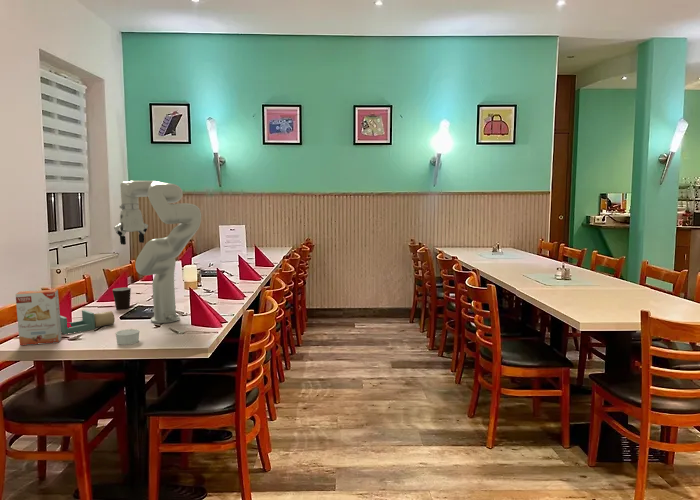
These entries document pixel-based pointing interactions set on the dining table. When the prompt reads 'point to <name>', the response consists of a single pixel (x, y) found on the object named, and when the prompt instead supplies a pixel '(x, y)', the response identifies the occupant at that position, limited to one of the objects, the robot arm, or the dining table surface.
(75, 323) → the roll holder
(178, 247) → the robot arm
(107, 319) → the paper roll
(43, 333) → the cracker box
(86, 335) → the dining table surface
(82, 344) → the dining table surface
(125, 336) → the ramekin
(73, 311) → the dining table surface
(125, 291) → the coffee mug
